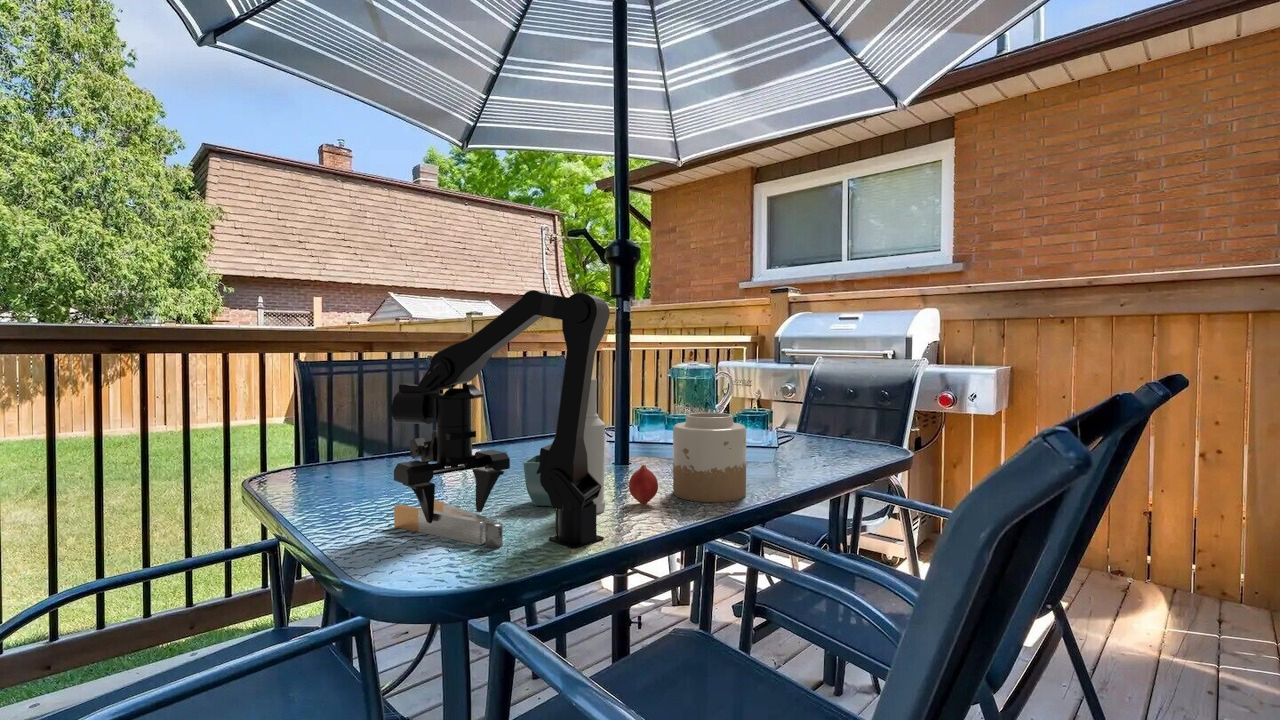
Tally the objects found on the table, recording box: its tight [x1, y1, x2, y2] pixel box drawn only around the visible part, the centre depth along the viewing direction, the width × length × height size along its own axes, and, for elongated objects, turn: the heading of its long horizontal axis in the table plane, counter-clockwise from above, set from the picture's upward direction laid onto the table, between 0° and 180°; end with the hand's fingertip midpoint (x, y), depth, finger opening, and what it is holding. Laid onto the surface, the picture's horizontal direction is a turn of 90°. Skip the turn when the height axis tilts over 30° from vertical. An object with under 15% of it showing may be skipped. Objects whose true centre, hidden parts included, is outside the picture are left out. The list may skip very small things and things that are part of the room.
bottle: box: [584, 378, 606, 515], centre depth 117 cm, size 5×5×25 cm
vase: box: [672, 412, 747, 503], centre depth 131 cm, size 15×15×17 cm
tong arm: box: [393, 503, 486, 546], centre depth 102 cm, size 20×1×4 cm, turn 60°
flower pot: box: [523, 454, 552, 507], centre depth 123 cm, size 9×9×9 cm
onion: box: [628, 464, 659, 506], centre depth 122 cm, size 6×6×8 cm
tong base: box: [434, 498, 504, 550], centre depth 104 cm, size 23×3×4 cm, turn 46°
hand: (455, 517), depth 105 cm, fingers open, 9 cm apart
